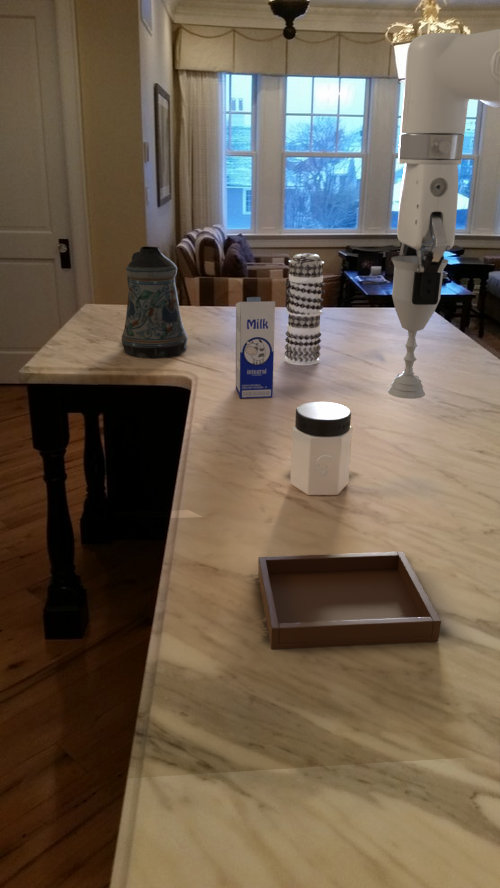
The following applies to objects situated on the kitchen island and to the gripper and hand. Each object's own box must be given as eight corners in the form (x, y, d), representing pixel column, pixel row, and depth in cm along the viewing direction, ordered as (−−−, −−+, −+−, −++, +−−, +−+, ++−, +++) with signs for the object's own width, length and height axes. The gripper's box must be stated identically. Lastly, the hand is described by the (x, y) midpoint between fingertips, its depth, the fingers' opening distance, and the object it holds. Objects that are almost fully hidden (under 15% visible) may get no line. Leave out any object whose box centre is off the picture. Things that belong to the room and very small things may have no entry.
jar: (292, 496, 104) (295, 420, 99) (287, 473, 111) (290, 401, 107) (353, 496, 104) (359, 420, 99) (344, 472, 112) (349, 401, 107)
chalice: (371, 393, 97) (381, 259, 90) (392, 381, 102) (404, 254, 95) (421, 404, 93) (436, 265, 86) (441, 391, 98) (456, 259, 91)
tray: (401, 569, 86) (403, 551, 85) (438, 641, 74) (441, 620, 73) (258, 575, 85) (258, 556, 84) (271, 649, 72) (271, 628, 71)
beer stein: (162, 362, 168) (158, 254, 158) (99, 351, 177) (91, 248, 167) (200, 347, 181) (198, 247, 171) (140, 337, 190) (135, 241, 180)
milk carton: (239, 398, 144) (240, 301, 136) (234, 388, 150) (235, 294, 142) (273, 397, 145) (276, 300, 137) (267, 387, 151) (269, 294, 144)
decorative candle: (288, 366, 166) (292, 258, 156) (279, 356, 174) (282, 252, 164) (325, 365, 168) (332, 257, 158) (314, 354, 176) (319, 251, 166)
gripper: (487, 151, 78) (466, 312, 85) (438, 151, 94) (424, 286, 101) (420, 151, 77) (405, 312, 84) (382, 150, 93) (372, 286, 100)
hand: (415, 297), depth 92 cm, fingers closed on chalice, 7 cm apart
